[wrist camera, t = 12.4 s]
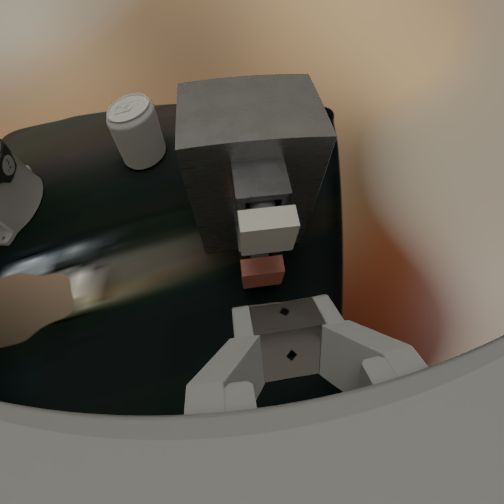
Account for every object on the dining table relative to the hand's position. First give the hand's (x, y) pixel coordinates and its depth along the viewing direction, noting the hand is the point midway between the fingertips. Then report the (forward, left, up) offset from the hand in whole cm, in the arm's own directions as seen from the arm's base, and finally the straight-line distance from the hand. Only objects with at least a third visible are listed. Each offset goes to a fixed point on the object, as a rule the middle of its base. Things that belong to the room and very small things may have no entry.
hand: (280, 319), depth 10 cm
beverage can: (-15, +37, -32) cm, 51 cm away
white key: (+2, +12, -17) cm, 21 cm away
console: (+2, +19, -31) cm, 37 cm away
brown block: (+2, +12, -28) cm, 30 cm away
